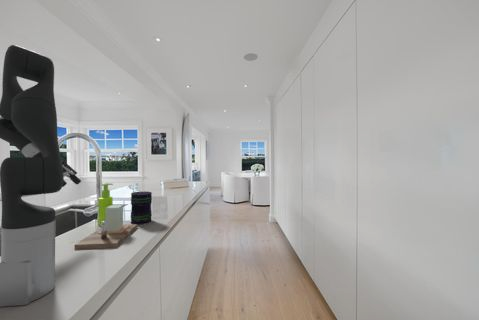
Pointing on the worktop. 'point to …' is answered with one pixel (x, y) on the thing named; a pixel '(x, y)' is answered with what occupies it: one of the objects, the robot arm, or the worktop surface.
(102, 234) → the steel post
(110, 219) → the pale mint tall block
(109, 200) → the lime green stepped cylinder
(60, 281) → the worktop surface
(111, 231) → the terracotta pad
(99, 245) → the walnut board
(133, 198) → the dark blue ridged cylinder
